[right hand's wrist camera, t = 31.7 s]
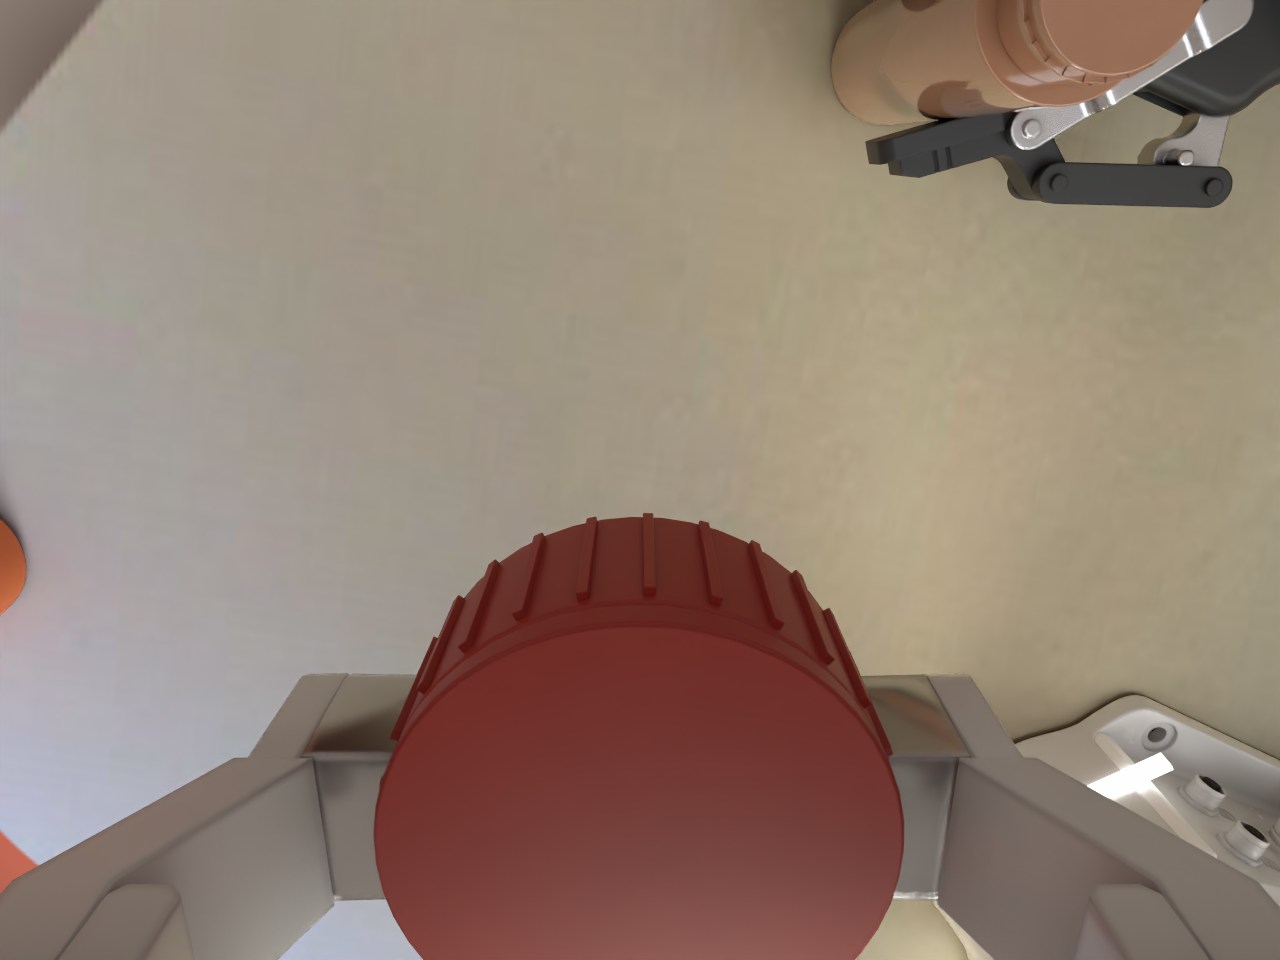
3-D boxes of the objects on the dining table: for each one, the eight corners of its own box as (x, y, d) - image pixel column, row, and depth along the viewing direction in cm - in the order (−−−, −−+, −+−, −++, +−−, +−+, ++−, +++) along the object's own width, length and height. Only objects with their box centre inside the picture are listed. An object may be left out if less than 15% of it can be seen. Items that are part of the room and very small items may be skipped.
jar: (936, 128, 34) (1204, 106, 18) (824, 123, 34) (996, 97, 18) (954, 1, 32) (1263, -142, 17) (837, -4, 32) (1038, -153, 16)
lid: (671, 416, 9) (682, 498, 7) (936, 732, 11) (1018, 889, 8) (334, 679, 10) (248, 827, 8) (612, 938, 12) (607, 1126, 9)
